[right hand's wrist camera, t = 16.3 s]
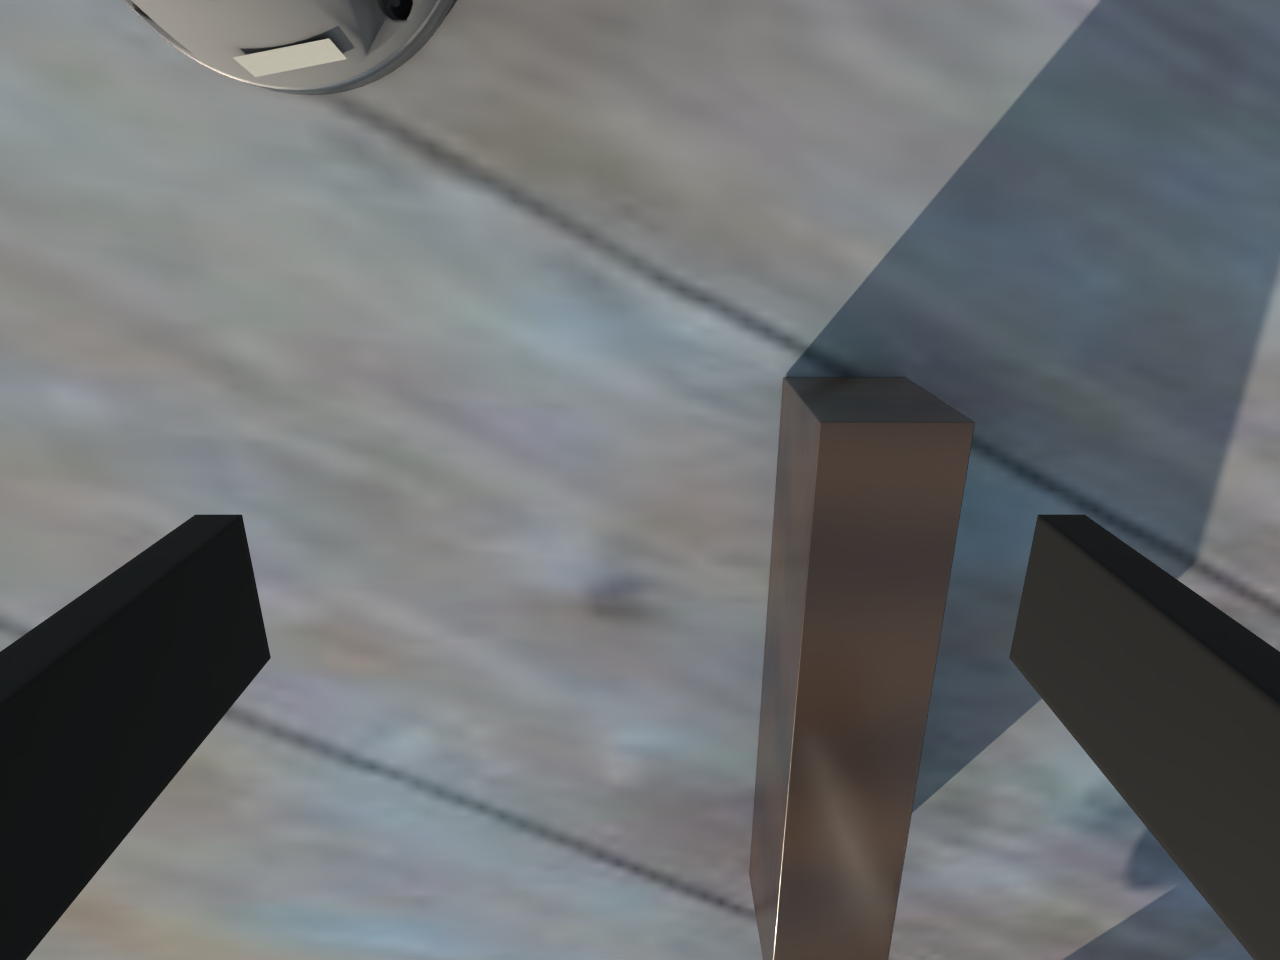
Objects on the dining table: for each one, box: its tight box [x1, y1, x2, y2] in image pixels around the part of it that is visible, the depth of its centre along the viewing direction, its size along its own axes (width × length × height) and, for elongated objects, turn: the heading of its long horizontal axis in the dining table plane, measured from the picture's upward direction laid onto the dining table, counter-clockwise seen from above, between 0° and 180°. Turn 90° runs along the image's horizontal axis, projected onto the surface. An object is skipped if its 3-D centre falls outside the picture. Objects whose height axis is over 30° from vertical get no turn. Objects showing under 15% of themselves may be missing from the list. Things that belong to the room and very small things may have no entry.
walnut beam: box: [749, 377, 975, 960], centre depth 38 cm, size 32×6×8 cm, turn 0°
